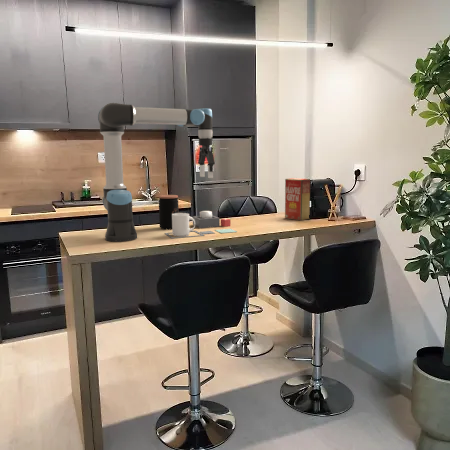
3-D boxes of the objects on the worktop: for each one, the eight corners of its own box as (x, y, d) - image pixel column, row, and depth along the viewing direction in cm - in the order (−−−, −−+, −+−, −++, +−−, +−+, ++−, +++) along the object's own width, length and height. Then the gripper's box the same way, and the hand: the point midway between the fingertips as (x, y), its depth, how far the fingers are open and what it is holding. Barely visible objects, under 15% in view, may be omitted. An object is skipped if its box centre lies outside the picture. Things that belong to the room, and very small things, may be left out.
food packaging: (283, 218, 262) (284, 178, 258) (293, 216, 269) (294, 177, 265) (301, 220, 253) (302, 179, 249) (310, 218, 259) (311, 178, 255)
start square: (171, 238, 202) (171, 238, 202) (164, 233, 215) (164, 233, 215) (204, 235, 209) (204, 235, 209) (195, 231, 221) (195, 230, 221)
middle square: (203, 234, 213) (203, 233, 213) (199, 232, 218) (199, 231, 218) (214, 233, 215) (214, 232, 215) (210, 231, 220) (210, 230, 220)
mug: (197, 235, 210) (197, 214, 208) (174, 237, 206) (173, 215, 204) (193, 232, 218) (193, 212, 216) (170, 234, 214) (170, 213, 212)
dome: (202, 222, 232) (202, 212, 231) (198, 220, 239) (198, 211, 238) (213, 221, 235) (213, 211, 234) (209, 219, 241) (209, 210, 240)
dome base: (199, 228, 230) (199, 219, 229) (192, 224, 240) (192, 216, 240) (219, 226, 234) (219, 218, 233) (212, 223, 245) (212, 215, 244)
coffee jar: (175, 230, 225) (174, 197, 222) (156, 229, 227) (155, 196, 224) (181, 226, 235) (180, 195, 232) (163, 226, 237) (162, 194, 234)
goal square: (221, 233, 215) (221, 232, 215) (214, 230, 223) (214, 229, 223) (237, 232, 218) (237, 231, 218) (230, 229, 226) (230, 228, 226)
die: (224, 227, 234) (224, 219, 233) (220, 226, 237) (220, 218, 236) (230, 226, 236) (230, 218, 235) (226, 225, 239) (226, 218, 238)
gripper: (220, 137, 215) (221, 178, 219) (204, 138, 238) (205, 176, 242) (206, 137, 213) (207, 178, 216) (192, 138, 235) (192, 176, 239)
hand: (206, 177), depth 229 cm, fingers open, 13 cm apart
